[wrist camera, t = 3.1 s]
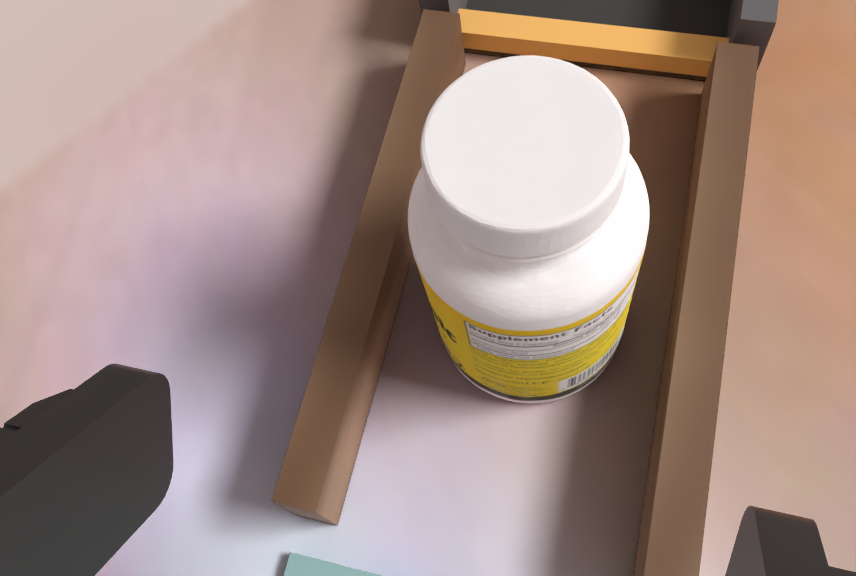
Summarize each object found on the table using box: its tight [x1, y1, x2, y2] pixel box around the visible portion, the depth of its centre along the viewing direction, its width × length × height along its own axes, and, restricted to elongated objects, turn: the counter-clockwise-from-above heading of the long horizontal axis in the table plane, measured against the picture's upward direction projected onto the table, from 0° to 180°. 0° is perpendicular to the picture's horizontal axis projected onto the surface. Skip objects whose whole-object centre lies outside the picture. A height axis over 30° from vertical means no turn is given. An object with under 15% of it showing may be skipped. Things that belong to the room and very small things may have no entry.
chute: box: [271, 9, 759, 576], centre depth 23 cm, size 10×16×2 cm, turn 166°
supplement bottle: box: [408, 55, 650, 403], centre depth 20 cm, size 5×5×10 cm
